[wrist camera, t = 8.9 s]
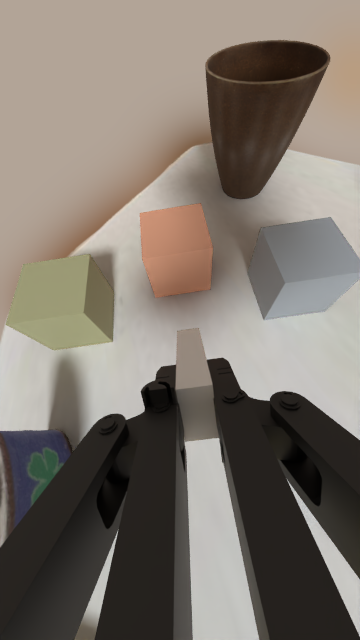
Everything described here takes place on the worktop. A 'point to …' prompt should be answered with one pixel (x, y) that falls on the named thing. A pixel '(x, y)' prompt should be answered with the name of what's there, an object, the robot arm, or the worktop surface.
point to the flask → (27, 471)
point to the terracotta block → (176, 250)
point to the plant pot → (259, 107)
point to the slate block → (301, 268)
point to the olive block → (63, 303)
